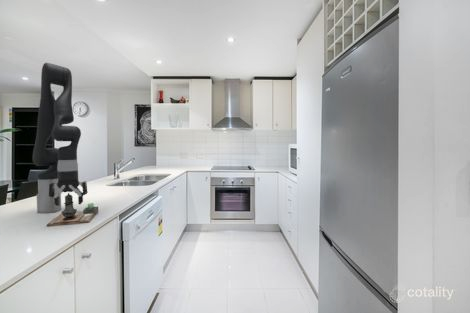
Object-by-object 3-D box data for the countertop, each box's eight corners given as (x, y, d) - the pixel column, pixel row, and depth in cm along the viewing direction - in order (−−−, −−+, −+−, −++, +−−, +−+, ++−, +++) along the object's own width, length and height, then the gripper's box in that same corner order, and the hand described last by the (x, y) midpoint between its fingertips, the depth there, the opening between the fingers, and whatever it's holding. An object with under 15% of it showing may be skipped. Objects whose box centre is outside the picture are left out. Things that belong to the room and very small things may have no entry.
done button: (87, 210, 115) (86, 204, 115) (88, 209, 118) (88, 203, 118) (93, 210, 116) (92, 204, 116) (94, 208, 119) (94, 203, 118)
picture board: (46, 226, 99) (46, 219, 99) (62, 214, 116) (61, 208, 116) (89, 222, 105) (89, 216, 105) (98, 211, 122) (98, 205, 122)
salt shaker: (60, 221, 102) (59, 194, 102) (62, 217, 108) (61, 192, 107) (76, 219, 105) (75, 193, 104) (78, 215, 110) (77, 191, 110)
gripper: (88, 168, 111) (89, 201, 112) (52, 169, 106) (53, 204, 107) (83, 170, 104) (84, 205, 105) (45, 171, 99) (46, 208, 100)
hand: (69, 204), depth 106 cm, fingers open, 8 cm apart
